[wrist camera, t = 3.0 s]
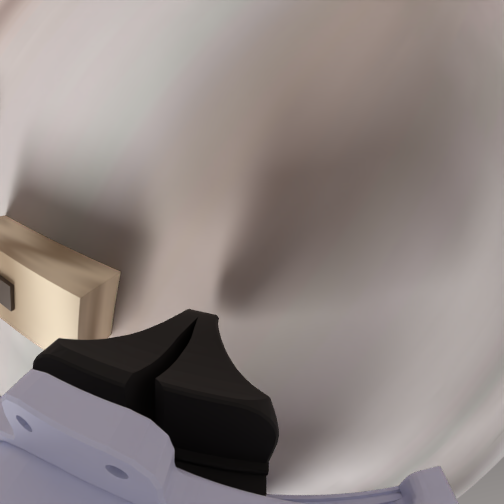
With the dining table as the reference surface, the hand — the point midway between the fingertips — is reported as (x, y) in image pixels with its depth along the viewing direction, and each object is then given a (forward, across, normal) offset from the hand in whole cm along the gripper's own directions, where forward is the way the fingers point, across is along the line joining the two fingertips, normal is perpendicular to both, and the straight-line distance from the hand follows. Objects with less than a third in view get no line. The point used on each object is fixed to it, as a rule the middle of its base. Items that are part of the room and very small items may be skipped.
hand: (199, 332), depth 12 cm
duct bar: (+2, +10, 0) cm, 10 cm away
